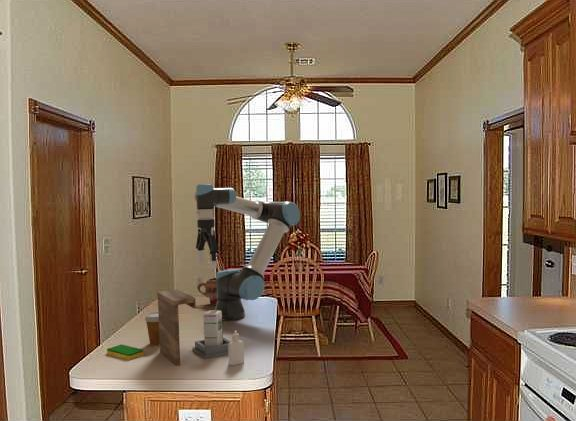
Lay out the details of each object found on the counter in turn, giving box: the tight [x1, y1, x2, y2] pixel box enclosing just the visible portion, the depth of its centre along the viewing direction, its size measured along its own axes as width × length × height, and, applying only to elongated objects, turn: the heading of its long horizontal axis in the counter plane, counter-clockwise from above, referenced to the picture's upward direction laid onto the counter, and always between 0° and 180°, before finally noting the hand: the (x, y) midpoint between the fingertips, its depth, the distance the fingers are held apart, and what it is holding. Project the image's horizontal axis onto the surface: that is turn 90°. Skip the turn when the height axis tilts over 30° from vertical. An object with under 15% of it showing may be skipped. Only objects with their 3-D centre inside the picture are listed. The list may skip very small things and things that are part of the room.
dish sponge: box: [106, 344, 145, 361], centre depth 206 cm, size 7×14×2 cm, turn 54°
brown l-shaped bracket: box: [156, 289, 197, 366], centre depth 201 cm, size 8×20×24 cm, turn 31°
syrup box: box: [202, 309, 224, 347], centre depth 207 cm, size 6×6×14 cm
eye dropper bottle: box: [227, 330, 245, 366], centre depth 192 cm, size 4×6×12 cm
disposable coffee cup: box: [144, 311, 160, 346], centre depth 219 cm, size 10×10×12 cm
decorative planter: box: [197, 277, 217, 306], centre depth 291 cm, size 20×12×14 cm, turn 90°
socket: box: [191, 337, 231, 359], centre depth 207 cm, size 13×13×4 cm
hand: (207, 266), depth 235 cm, fingers open, 13 cm apart
